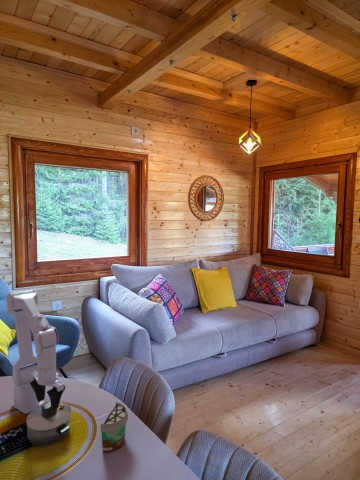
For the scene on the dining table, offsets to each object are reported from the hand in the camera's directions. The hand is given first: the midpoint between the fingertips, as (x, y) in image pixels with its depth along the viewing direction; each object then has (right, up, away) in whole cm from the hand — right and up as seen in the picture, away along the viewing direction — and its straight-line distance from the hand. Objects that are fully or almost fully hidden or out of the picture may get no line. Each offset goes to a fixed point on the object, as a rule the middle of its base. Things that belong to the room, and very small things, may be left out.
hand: (48, 404), depth 106 cm
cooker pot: (0, -10, +1) cm, 10 cm away
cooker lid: (0, -5, +1) cm, 5 cm away
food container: (+24, -11, -4) cm, 27 cm away
